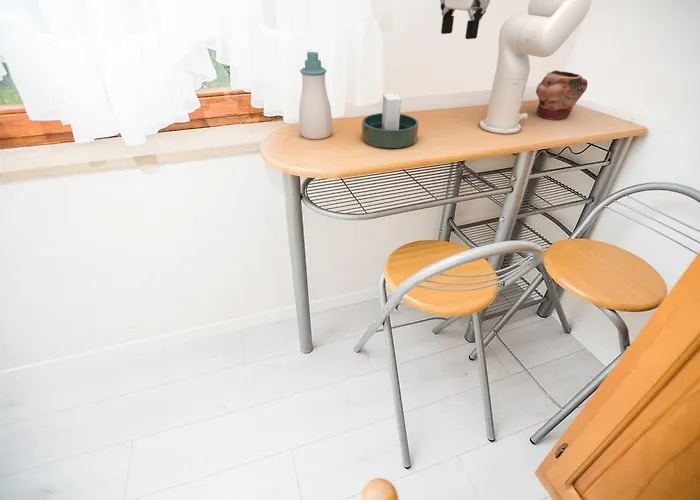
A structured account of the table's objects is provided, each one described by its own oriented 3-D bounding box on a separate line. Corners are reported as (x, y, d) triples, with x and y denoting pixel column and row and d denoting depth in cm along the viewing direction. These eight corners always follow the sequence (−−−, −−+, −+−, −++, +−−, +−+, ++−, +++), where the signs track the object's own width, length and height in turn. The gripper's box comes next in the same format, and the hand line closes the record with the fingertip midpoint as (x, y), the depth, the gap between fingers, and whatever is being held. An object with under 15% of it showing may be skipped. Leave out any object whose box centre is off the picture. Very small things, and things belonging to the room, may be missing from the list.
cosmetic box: (380, 134, 121) (383, 93, 114) (394, 134, 121) (397, 93, 114) (383, 141, 116) (386, 99, 109) (398, 141, 117) (401, 98, 110)
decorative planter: (561, 107, 147) (574, 67, 139) (589, 117, 138) (605, 74, 130) (520, 113, 141) (531, 71, 133) (546, 124, 132) (560, 79, 124)
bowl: (397, 127, 128) (398, 110, 125) (427, 144, 116) (429, 125, 113) (352, 135, 122) (352, 117, 119) (379, 153, 110) (380, 134, 107)
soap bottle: (326, 128, 127) (324, 49, 114) (336, 138, 120) (335, 55, 107) (296, 131, 124) (290, 51, 111) (304, 142, 117) (299, 57, 104)
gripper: (509, -48, 87) (493, 39, 97) (458, -47, 100) (448, 30, 110) (482, -48, 85) (469, 42, 95) (433, -47, 97) (426, 32, 107)
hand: (458, 35), depth 102 cm, fingers open, 9 cm apart
